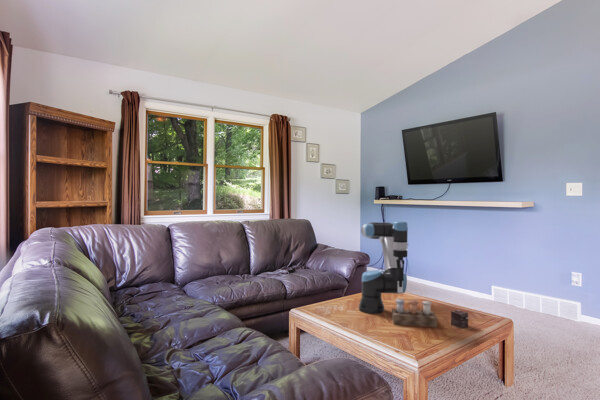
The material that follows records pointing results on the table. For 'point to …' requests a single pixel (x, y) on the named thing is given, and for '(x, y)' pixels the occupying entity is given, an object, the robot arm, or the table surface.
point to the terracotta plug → (413, 306)
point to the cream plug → (426, 307)
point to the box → (459, 319)
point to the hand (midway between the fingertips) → (400, 292)
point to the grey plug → (400, 306)
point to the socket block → (414, 318)
